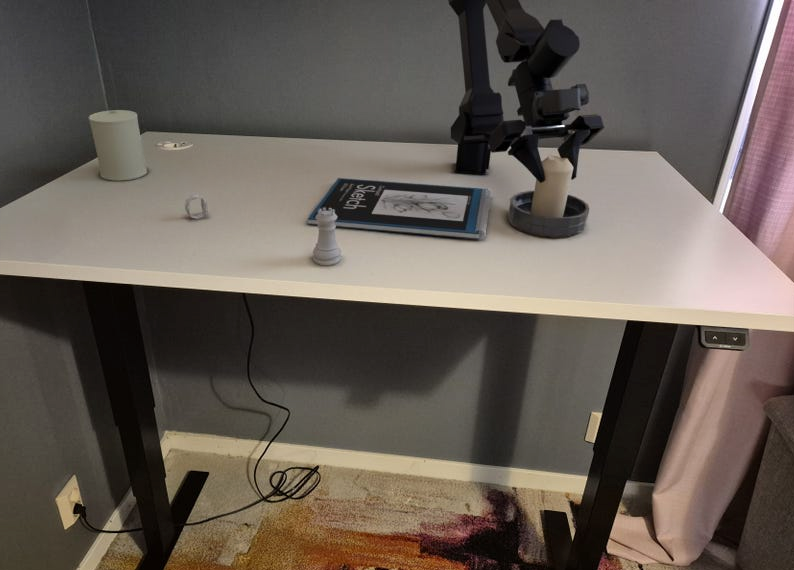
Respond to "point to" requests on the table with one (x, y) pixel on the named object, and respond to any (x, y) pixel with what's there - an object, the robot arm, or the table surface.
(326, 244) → the rook chess piece
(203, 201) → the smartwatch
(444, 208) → the sketchbook
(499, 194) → the table surface
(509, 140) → the robot arm
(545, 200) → the candle
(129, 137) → the can
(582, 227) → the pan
